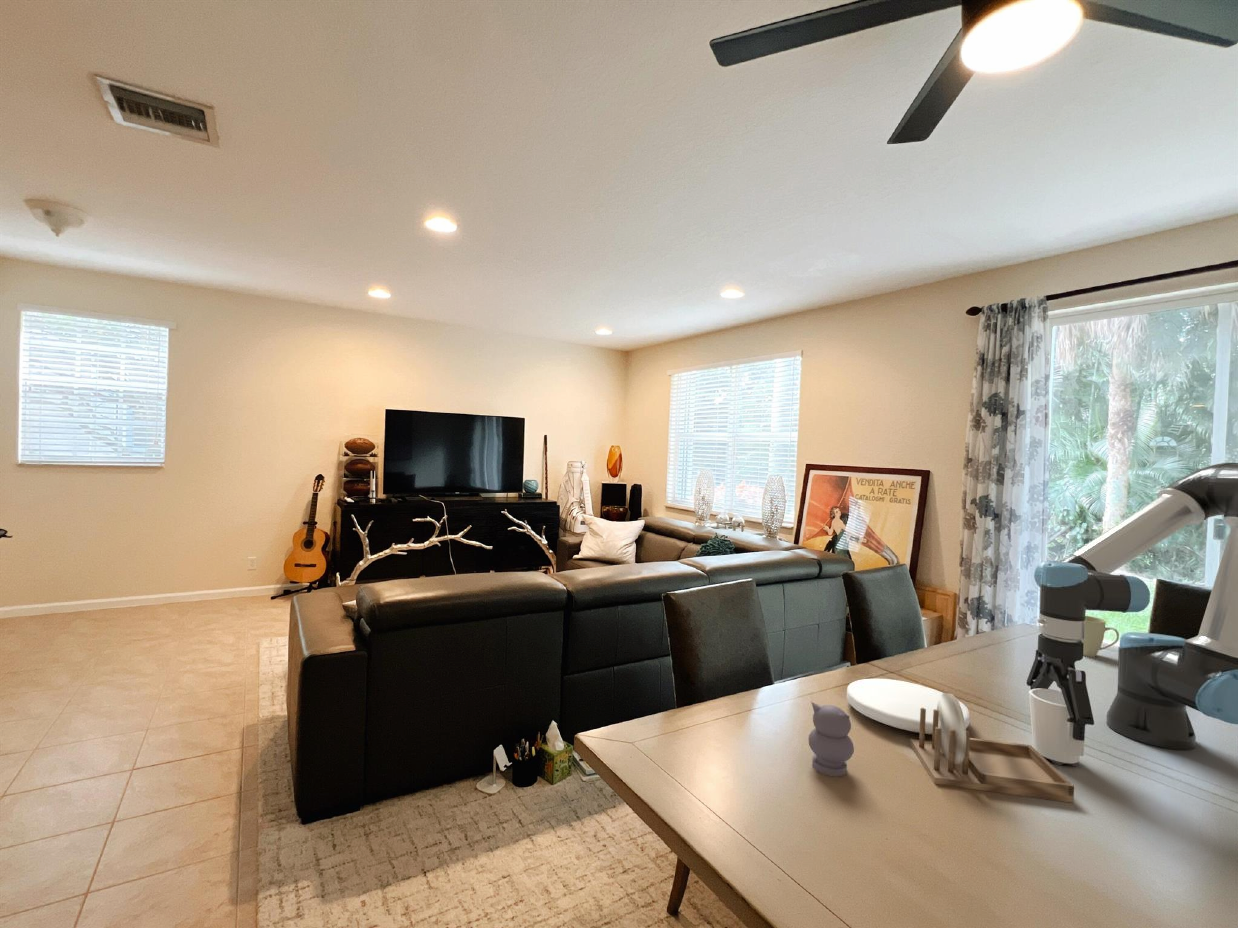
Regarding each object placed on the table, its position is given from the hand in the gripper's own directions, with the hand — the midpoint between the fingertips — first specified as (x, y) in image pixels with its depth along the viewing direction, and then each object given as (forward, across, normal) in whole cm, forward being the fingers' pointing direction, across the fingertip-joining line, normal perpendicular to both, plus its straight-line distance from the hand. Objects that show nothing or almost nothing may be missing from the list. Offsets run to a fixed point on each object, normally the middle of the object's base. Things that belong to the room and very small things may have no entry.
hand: (1055, 738), depth 119 cm
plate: (+5, -13, -25) cm, 29 cm away
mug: (+4, -82, +51) cm, 96 cm away
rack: (+4, +10, -17) cm, 20 cm away
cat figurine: (+5, +17, -47) cm, 50 cm away
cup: (+4, 0, 0) cm, 4 cm away
